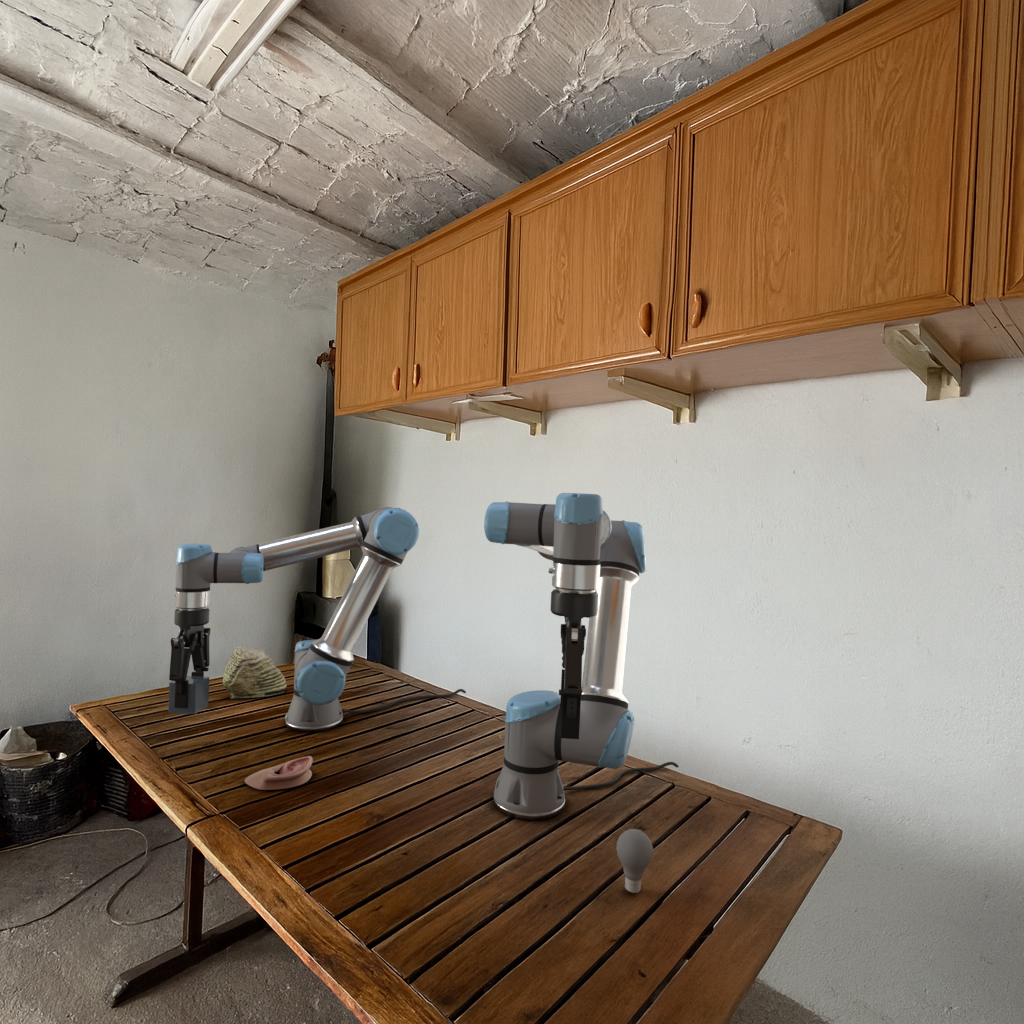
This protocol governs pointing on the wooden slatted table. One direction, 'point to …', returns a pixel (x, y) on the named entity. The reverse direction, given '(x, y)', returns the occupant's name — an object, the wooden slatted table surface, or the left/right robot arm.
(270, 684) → the fossil
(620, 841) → the light bulb
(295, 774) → the anatomical model
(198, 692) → the block
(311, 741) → the wooden slatted table surface
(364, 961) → the wooden slatted table surface
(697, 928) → the wooden slatted table surface
